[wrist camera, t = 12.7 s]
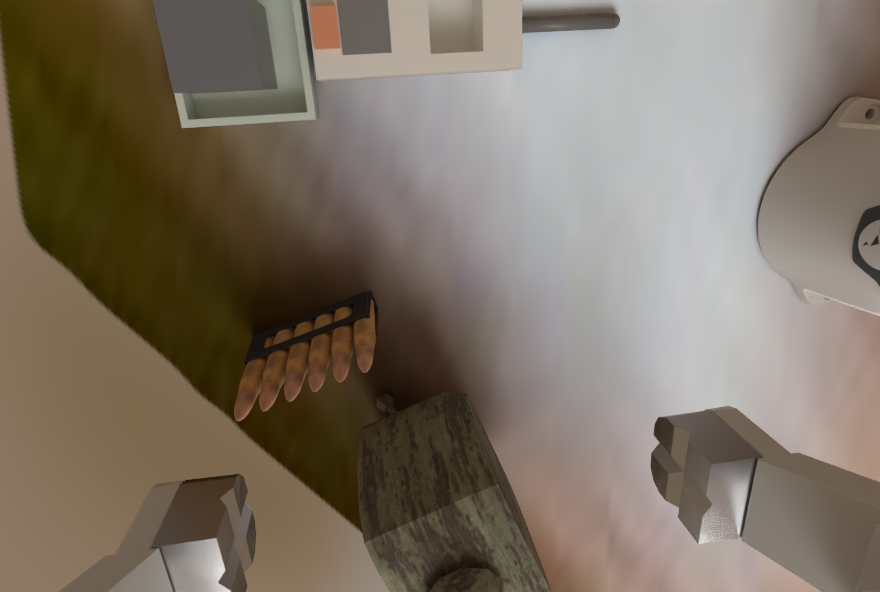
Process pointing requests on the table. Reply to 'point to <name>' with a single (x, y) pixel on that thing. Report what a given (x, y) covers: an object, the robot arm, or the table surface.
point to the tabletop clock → (441, 503)
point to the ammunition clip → (308, 352)
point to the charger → (216, 45)
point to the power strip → (426, 36)
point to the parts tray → (264, 105)
